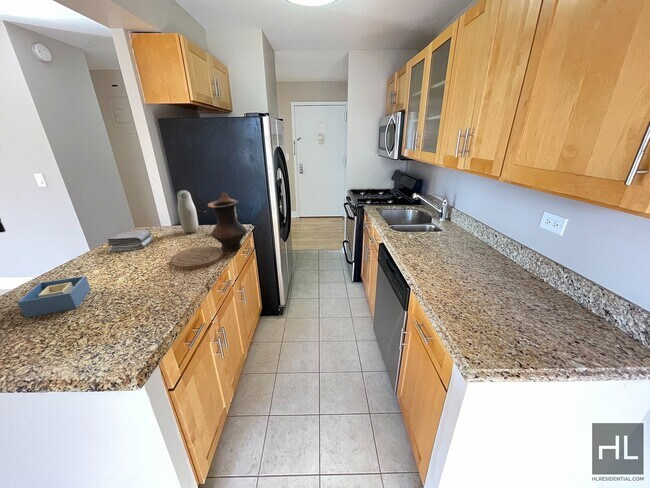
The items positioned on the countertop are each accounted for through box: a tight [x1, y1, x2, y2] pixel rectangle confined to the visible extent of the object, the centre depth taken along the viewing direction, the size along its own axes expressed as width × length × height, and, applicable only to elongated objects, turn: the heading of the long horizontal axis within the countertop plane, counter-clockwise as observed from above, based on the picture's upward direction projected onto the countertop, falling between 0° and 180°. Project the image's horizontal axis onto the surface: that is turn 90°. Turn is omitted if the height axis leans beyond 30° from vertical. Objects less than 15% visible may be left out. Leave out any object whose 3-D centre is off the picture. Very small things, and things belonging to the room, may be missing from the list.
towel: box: [107, 229, 154, 253], centre depth 151 cm, size 15×18×8 cm
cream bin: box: [38, 283, 73, 298], centre depth 98 cm, size 7×7×6 cm
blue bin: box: [16, 275, 92, 319], centre depth 98 cm, size 14×14×7 cm
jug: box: [207, 192, 248, 253], centre depth 144 cm, size 21×18×30 cm
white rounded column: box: [176, 189, 199, 234], centre depth 169 cm, size 10×10×28 cm
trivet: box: [169, 245, 225, 271], centre depth 135 cm, size 25×25×2 cm
